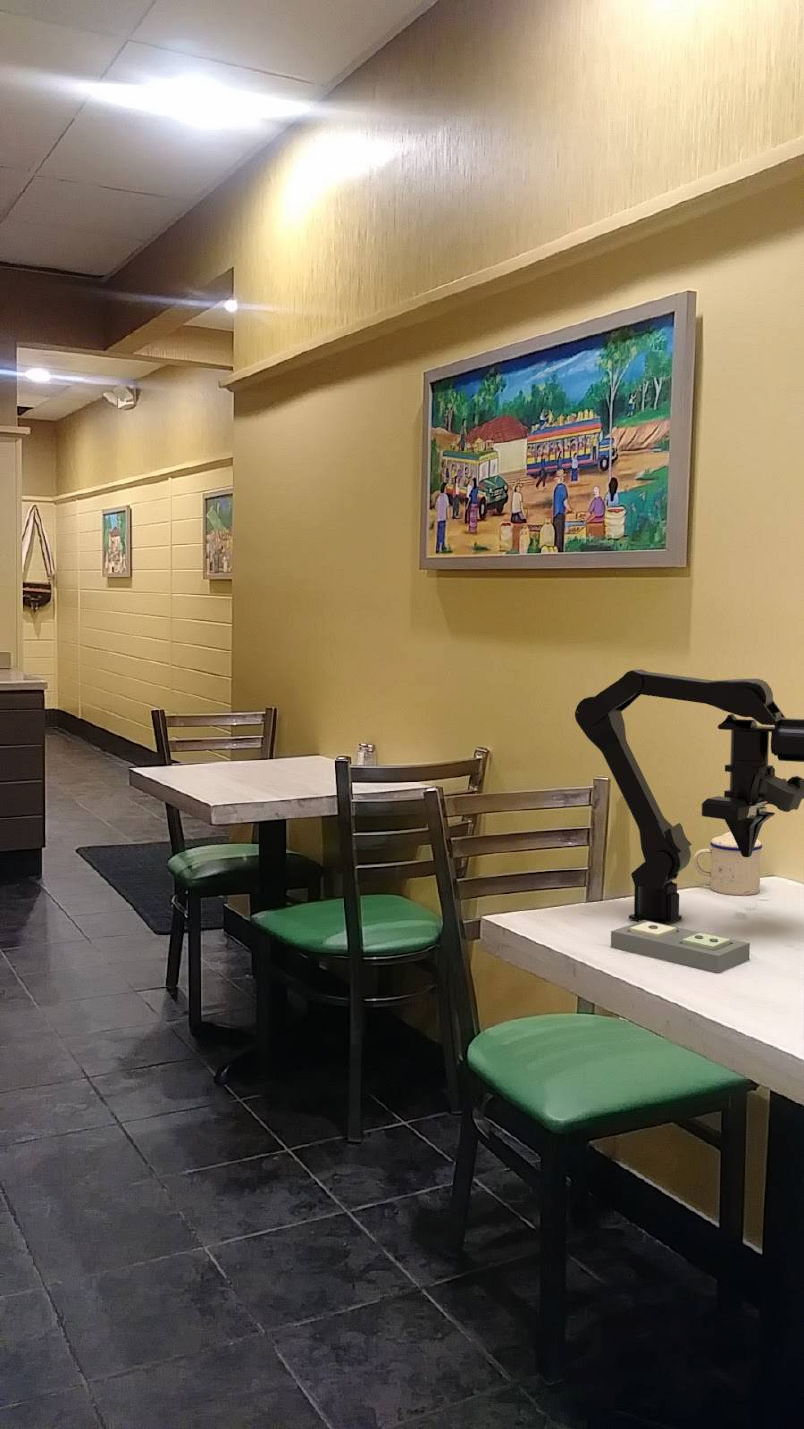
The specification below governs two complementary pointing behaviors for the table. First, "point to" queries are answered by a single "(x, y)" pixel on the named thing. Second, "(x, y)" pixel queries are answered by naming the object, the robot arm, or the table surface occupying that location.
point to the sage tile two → (706, 941)
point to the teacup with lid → (732, 867)
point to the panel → (680, 949)
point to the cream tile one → (653, 930)
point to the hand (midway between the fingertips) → (746, 856)
